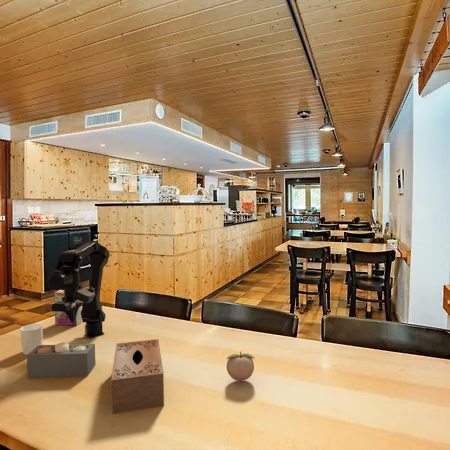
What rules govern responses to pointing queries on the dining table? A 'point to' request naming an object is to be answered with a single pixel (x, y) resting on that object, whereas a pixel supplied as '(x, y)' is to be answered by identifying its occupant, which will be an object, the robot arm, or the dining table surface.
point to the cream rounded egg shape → (62, 347)
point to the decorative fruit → (240, 366)
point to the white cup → (31, 337)
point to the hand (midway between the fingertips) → (73, 322)
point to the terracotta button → (44, 350)
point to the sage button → (79, 349)
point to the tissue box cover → (137, 376)
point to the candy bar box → (61, 316)
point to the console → (61, 362)
